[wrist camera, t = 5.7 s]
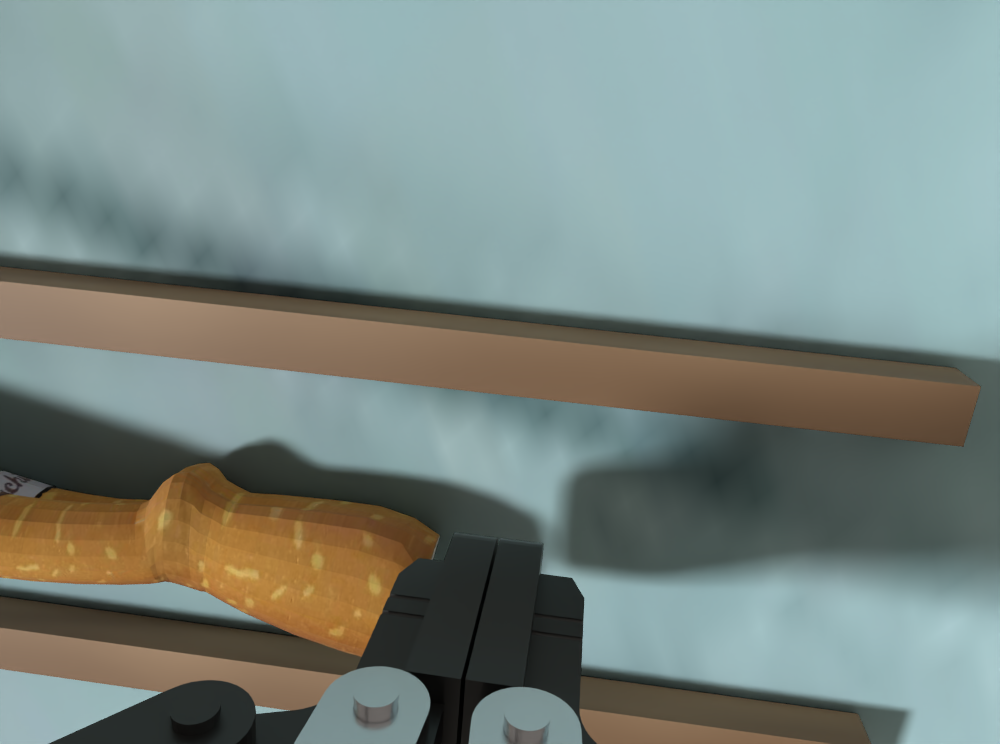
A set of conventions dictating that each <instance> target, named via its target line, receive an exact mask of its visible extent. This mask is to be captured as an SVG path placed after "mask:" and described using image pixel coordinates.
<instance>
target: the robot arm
mask: <svg viewBox="0 0 1000 744" xmlns="http://www.w3.org/2000/svg"><path fill="white" fill-rule="evenodd" d="M543 545H544V544H543V543H536V542H528V541H520V540H513V539H505V538H500V541H499V545H498V538H496V537H488V536H480V535H472V534H465V533H457V532H455V533H454V535H453V537H452V540H451V543H450V545H449V548H448V551H447V554H446V557H445V559H444V561H438V560H430V559H423V558H418V559H417V560H416V561H414V562H413V563H412V564H410V565H409V566H408V567H407V568H405V569H404V570H403V571H401V572H400V573H399V574H398V576H397V579H396V581H395V583H394V585H393V588H392V590H391V592H390V596H389V597H388V599H387V601H386V603H385V606H384V608H383V611H382V614H381V615H380V617H379V619H378V621H377V624H376V626H375V628H374V630H373V632H372V635H371V637H370V639H369V641H368V644H367V646H366V648H365V650H364V653H363V655H362V657H361V659H360V662H359V664H358V666H357V668H356V670H354V671H351V672H349V673H346V674H344V675H342V676H341V677H339V678H338V679H336V680H335V681H334V682H333V683H332V684H331V685H330V686H329V687H328V688H327V690H326V691H325V692H324V694H323V696H322V697H321V699H320V701H319V703H318V704H317V705H314V706H311V707H308V708H304V709H299V710H292V711H282V712H272V713H262V714H256V710H255V704H254V701H253V699H252V697H251V696H250V695H249V693H247V692H246V691H245V690H244V689H243V688H241V687H239V686H237V685H235V684H232V683H229V682H224V681H218V680H202V681H195V682H190V683H186V684H182V685H179V686H177V687H174V688H172V689H169V690H167V691H165V692H163V693H160V694H158V695H156V696H154V697H152V698H149V699H147V700H145V701H143V702H140V703H138V704H136V705H134V706H132V707H129V708H127V709H125V710H123V711H120V712H118V713H116V714H114V715H112V716H109V717H107V718H105V719H103V720H100V721H98V722H96V723H94V724H92V725H89V726H87V727H85V728H83V729H80V730H78V731H76V732H74V733H72V734H69V735H67V736H65V737H63V738H60V739H58V740H56V741H54V742H51V743H49V744H597V743H596V742H595V741H594V740H593V739H592V738H591V737H590V735H589V734H588V732H587V731H586V730H585V728H584V725H583V723H582V721H581V717H580V709H579V706H580V683H581V660H582V637H583V615H584V597H583V595H582V594H581V592H580V590H579V589H578V587H577V585H576V584H575V582H574V580H573V579H572V578H568V577H560V576H553V575H545V574H541V566H542V556H543Z"/></svg>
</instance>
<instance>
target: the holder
mask: <svg viewBox="0 0 1000 744" xmlns="http://www.w3.org/2000/svg"><path fill="white" fill-rule="evenodd" d="M0 338H4V339H13V340H22V341H31V342H40V343H49V344H58V345H66V346H75V347H84V348H93V349H102V350H111V351H120V352H129V353H137V354H146V355H155V356H164V357H173V358H182V359H191V360H199V361H208V362H217V363H226V364H235V365H244V366H253V367H261V368H270V369H279V370H288V371H297V372H306V373H315V374H323V375H332V376H341V377H350V378H359V379H368V380H377V381H385V382H394V383H403V384H412V385H421V386H430V387H439V388H448V389H456V390H465V391H474V392H483V393H492V394H501V395H510V396H518V397H527V398H536V399H545V400H554V401H563V402H572V403H580V404H589V405H598V406H607V407H616V408H625V409H634V410H642V411H651V412H660V413H669V414H678V415H687V416H696V417H704V418H713V419H722V420H731V421H740V422H749V423H758V424H767V425H775V426H784V427H793V428H802V429H811V430H820V431H829V432H837V433H846V434H855V435H864V436H873V437H882V438H891V439H899V440H908V441H917V442H926V443H935V444H944V445H953V446H961V447H963V446H964V443H965V439H966V436H967V433H968V429H969V426H970V422H971V419H972V416H973V412H974V409H975V405H976V402H977V399H978V395H979V392H980V389H981V386H979V385H978V384H977V383H975V382H974V381H973V380H971V379H970V378H969V377H967V376H966V375H965V374H963V373H962V372H961V371H959V370H958V369H957V368H951V367H942V366H933V365H923V364H914V363H904V362H895V361H886V360H876V359H867V358H857V357H848V356H838V355H829V354H820V353H810V352H801V351H791V350H782V349H773V348H763V347H754V346H744V345H735V344H725V343H716V342H707V341H697V340H688V339H678V338H669V337H660V336H650V335H641V334H631V333H622V332H613V331H603V330H594V329H584V328H575V327H565V326H556V325H547V324H537V323H528V322H518V321H509V320H500V319H490V318H481V317H471V316H462V315H452V314H443V313H434V312H424V311H415V310H405V309H396V308H387V307H377V306H368V305H358V304H349V303H339V302H330V301H321V300H311V299H302V298H292V297H283V296H274V295H264V294H255V293H245V292H236V291H227V290H217V289H208V288H198V287H189V286H179V285H170V284H161V283H151V282H142V281H132V280H123V279H114V278H104V277H95V276H85V275H76V274H66V273H57V272H48V271H38V270H29V269H19V268H10V267H1V266H0ZM360 659H361V657H360V656H357V655H353V654H349V653H346V652H342V651H339V650H336V649H333V648H330V647H328V646H325V645H322V644H319V643H316V642H313V641H310V640H308V639H305V638H300V637H293V636H286V635H278V634H271V633H264V632H256V631H249V630H242V629H234V628H227V627H220V626H213V625H205V624H198V623H191V622H183V621H176V620H169V619H161V618H154V617H147V616H139V615H132V614H125V613H117V612H110V611H103V610H96V609H88V608H81V607H74V606H66V605H59V604H52V603H44V602H37V601H30V600H22V599H15V598H8V597H0V669H5V670H12V671H19V672H26V673H33V674H40V675H47V676H54V677H61V678H68V679H75V680H82V681H89V682H95V683H102V684H109V685H116V686H123V687H130V688H137V689H144V690H151V691H158V692H165V691H167V690H169V689H172V688H174V687H177V686H179V685H182V684H186V683H190V682H195V681H202V680H218V681H224V682H229V683H232V684H235V685H237V686H239V687H241V688H243V689H244V690H245V691H246V692H247V693H249V695H250V696H251V697H252V699H253V701H254V704H255V705H256V706H263V707H270V708H277V709H284V710H291V711H292V710H299V709H304V708H308V707H311V706H314V705H317V704H318V703H319V701H320V699H321V697H322V696H323V694H324V692H325V691H326V690H327V688H328V687H329V686H330V685H331V684H332V683H333V682H334V681H335V680H336V679H338V678H339V677H341V676H342V675H344V674H346V673H349V672H351V671H354V670H356V668H357V666H358V664H359V662H360ZM579 709H580V717H581V721H582V723H583V725H584V728H585V730H586V731H587V732H588V734H589V735H590V737H591V738H592V739H593V740H594V741H595V742H596V743H597V744H871V742H870V740H869V738H868V735H867V733H866V731H865V728H864V726H863V724H862V722H861V719H860V717H859V715H858V714H856V713H849V712H841V711H834V710H827V709H819V708H812V707H805V706H797V705H790V704H783V703H775V702H768V701H761V700H753V699H746V698H739V697H732V696H724V695H717V694H710V693H702V692H695V691H688V690H680V689H673V688H666V687H658V686H651V685H644V684H637V683H629V682H622V681H615V680H607V679H600V678H593V677H585V676H581V683H580V706H579Z"/></svg>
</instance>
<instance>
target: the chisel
mask: <svg viewBox="0 0 1000 744" xmlns="http://www.w3.org/2000/svg"><path fill="white" fill-rule="evenodd" d="M439 537H440V535H438V534H437V533H436V532H434V531H433V530H431V529H430V528H429V527H427V526H426V525H424V524H423V523H421V522H420V521H419V520H417V519H416V518H413V517H411V516H408V515H405V514H402V513H399V512H396V511H393V510H391V509H388V508H385V507H382V506H376V505H369V504H361V503H354V502H346V501H338V500H330V499H320V498H309V497H299V496H289V495H277V494H261V493H250V492H248V491H246V490H244V489H242V488H240V487H238V486H236V485H235V484H233V483H231V482H229V481H228V480H227V479H226V478H225V477H224V475H223V474H222V473H221V471H220V470H219V469H218V468H216V467H215V466H214V465H212V464H211V463H201V464H196V465H192V466H189V467H186V468H184V469H183V470H181V471H180V472H179V473H176V474H174V475H173V476H171V477H170V478H169V479H167V480H166V481H164V482H163V483H162V484H161V486H160V487H159V488H158V490H157V491H156V493H155V494H154V495H153V497H152V498H151V499H150V500H141V499H118V498H111V497H104V496H98V495H91V494H86V493H80V492H74V491H69V490H64V489H59V488H57V487H56V486H50V485H47V484H44V483H41V482H38V481H35V480H31V479H28V478H25V477H22V476H19V475H16V474H12V473H9V472H6V471H0V577H1V578H10V579H20V580H29V581H41V582H57V583H73V584H117V585H123V584H151V583H159V582H164V581H166V582H172V583H176V584H180V585H183V586H187V587H190V588H193V589H196V590H199V591H205V592H207V593H209V594H211V595H213V596H214V597H216V598H218V599H220V600H221V601H223V602H225V603H227V604H229V605H231V606H233V607H235V608H236V609H238V610H240V611H242V612H244V613H246V614H248V615H250V616H253V617H255V618H257V619H259V620H262V621H264V622H266V623H268V624H271V625H273V626H275V627H278V628H280V629H282V630H284V631H287V632H289V633H291V634H294V635H296V636H299V637H302V638H305V639H308V640H310V641H313V642H316V643H319V644H322V645H325V646H328V647H330V648H333V649H336V650H339V651H342V652H346V653H349V654H353V655H357V656H360V657H362V655H363V653H364V650H365V648H366V646H367V644H368V641H369V639H370V637H371V635H372V632H373V630H374V628H375V626H376V624H377V621H378V619H379V617H380V615H381V614H382V611H383V608H384V606H385V603H386V601H387V599H388V597H389V596H390V592H391V590H392V588H393V585H394V583H395V581H396V579H397V576H398V574H399V573H400V572H401V571H403V570H404V569H405V568H407V567H408V566H409V565H410V564H412V563H413V562H414V561H416V560H417V559H418V558H423V559H430V560H433V558H434V555H435V551H436V548H437V544H438V541H439Z"/></svg>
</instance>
